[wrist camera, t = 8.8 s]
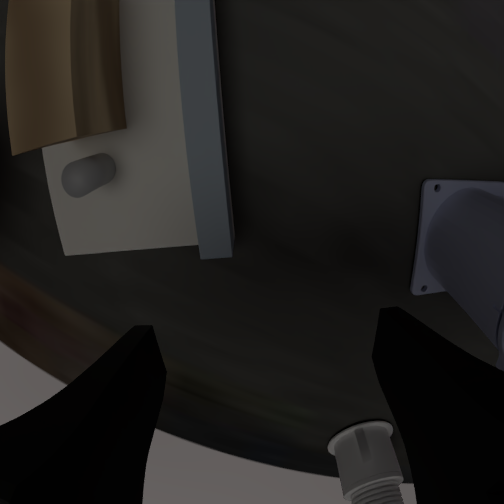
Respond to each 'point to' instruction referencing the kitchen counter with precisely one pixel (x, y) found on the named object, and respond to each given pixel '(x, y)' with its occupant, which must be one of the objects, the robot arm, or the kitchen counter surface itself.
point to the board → (153, 144)
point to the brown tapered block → (62, 71)
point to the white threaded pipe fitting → (367, 464)
